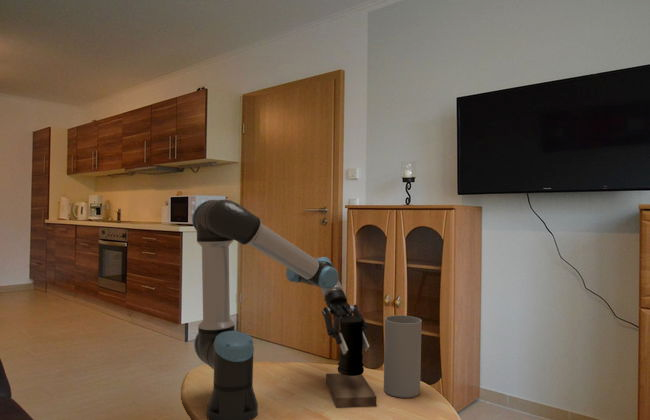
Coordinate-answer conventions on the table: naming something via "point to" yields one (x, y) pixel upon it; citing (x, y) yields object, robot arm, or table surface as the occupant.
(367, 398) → the shelf board
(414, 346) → the cylinder vase
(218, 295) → the robot arm
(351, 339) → the container
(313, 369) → the table surface
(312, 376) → the table surface
